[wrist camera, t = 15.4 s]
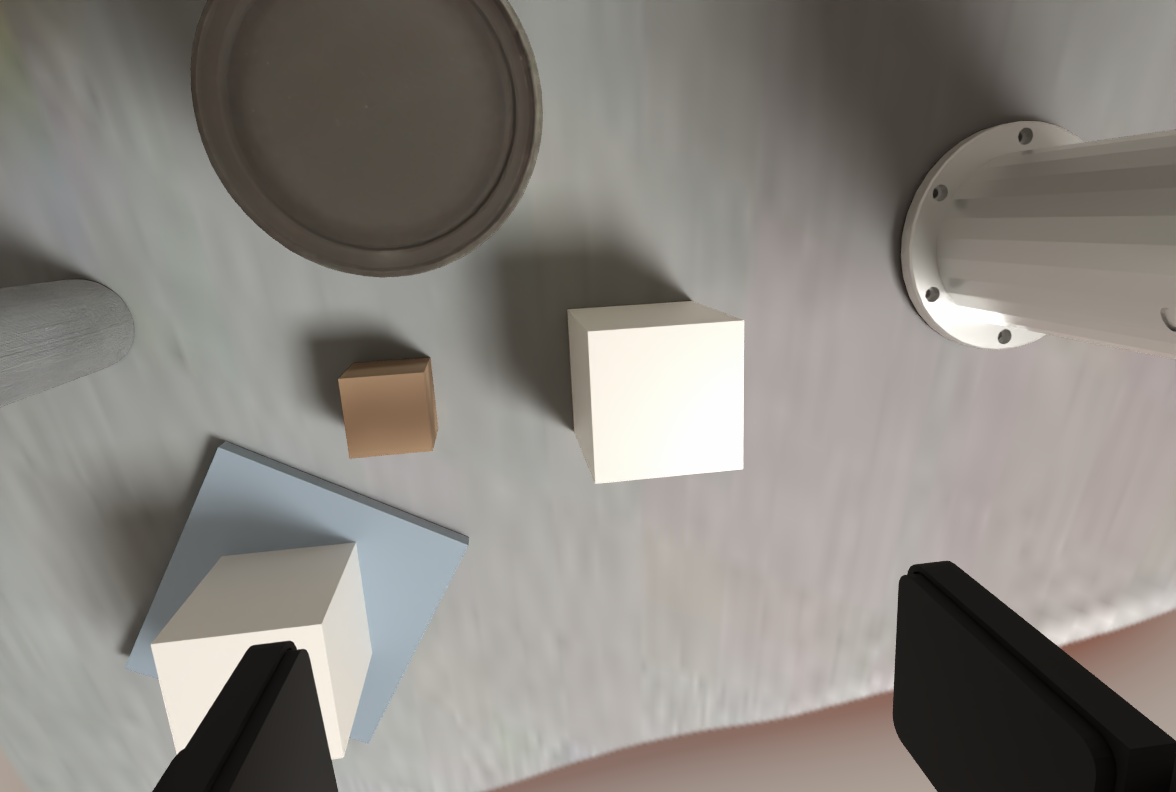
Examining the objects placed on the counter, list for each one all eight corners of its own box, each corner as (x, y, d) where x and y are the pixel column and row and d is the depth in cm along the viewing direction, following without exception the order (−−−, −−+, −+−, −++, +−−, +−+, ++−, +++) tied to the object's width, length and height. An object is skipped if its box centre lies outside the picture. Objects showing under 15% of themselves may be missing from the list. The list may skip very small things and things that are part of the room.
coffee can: (424, 298, 36) (385, 343, 22) (264, 146, 33) (109, 93, 20) (563, 157, 35) (610, 115, 22) (412, -11, 32) (357, -179, 19)
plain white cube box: (567, 309, 37) (587, 331, 29) (692, 300, 38) (744, 320, 30) (574, 432, 39) (595, 483, 31) (693, 421, 40) (743, 469, 32)
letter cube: (353, 362, 36) (338, 378, 32) (430, 357, 37) (423, 372, 33) (364, 436, 37) (349, 461, 33) (438, 430, 38) (432, 453, 34)
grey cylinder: (81, 386, 35) (-82, 451, 25) (13, 311, 33) (-188, 347, 23) (155, 337, 34) (22, 382, 25) (90, 260, 33) (-78, 275, 23)
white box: (221, 556, 37) (150, 644, 29) (355, 542, 37) (321, 623, 30) (244, 669, 38) (183, 780, 31) (372, 653, 39) (343, 757, 32)
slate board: (468, 537, 39) (468, 545, 38) (371, 731, 42) (368, 743, 41) (225, 441, 36) (218, 447, 35) (133, 657, 38) (124, 668, 37)
